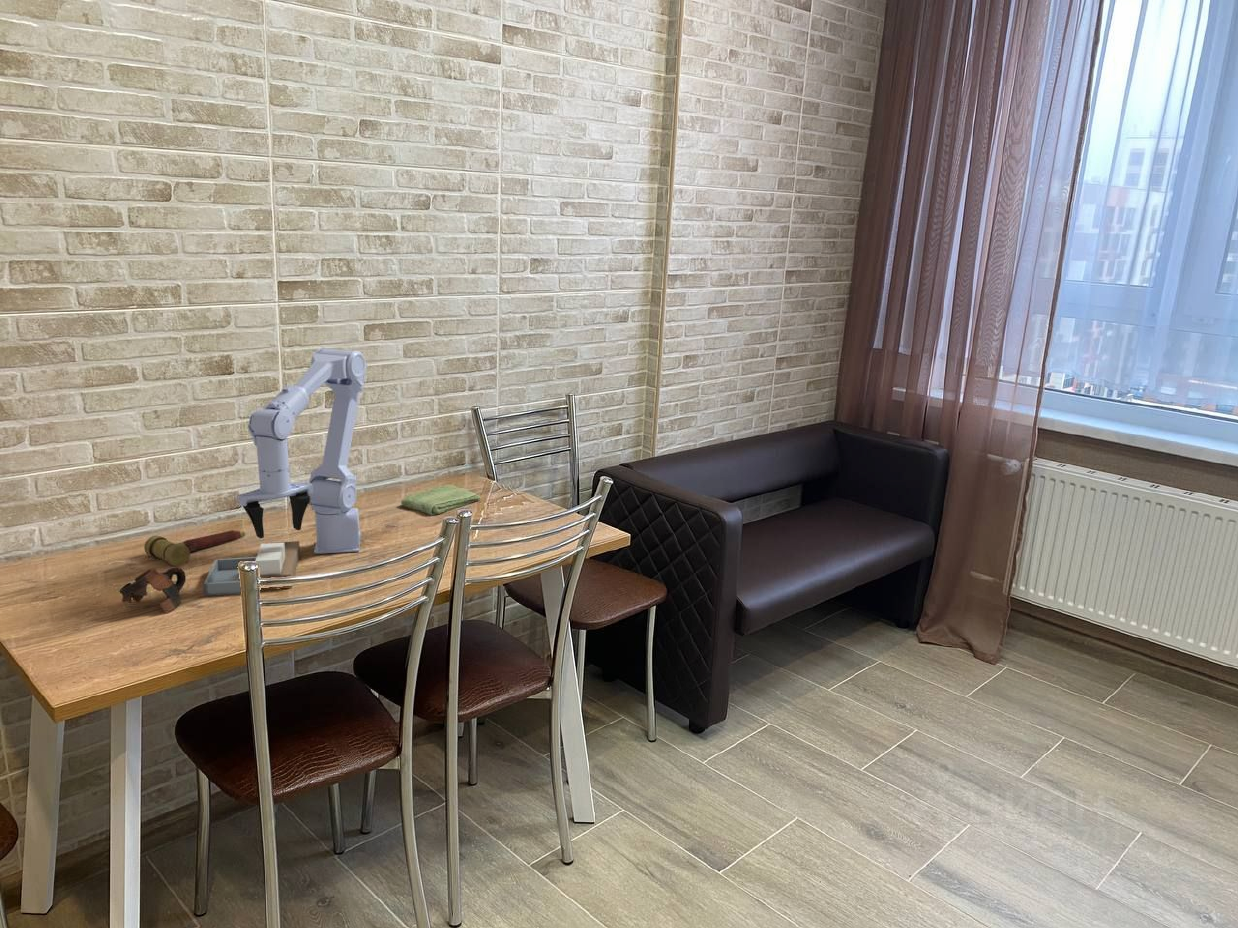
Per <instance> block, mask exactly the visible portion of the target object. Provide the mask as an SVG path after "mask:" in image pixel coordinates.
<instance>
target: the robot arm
mask: <svg viewBox="0 0 1238 928" xmlns="http://www.w3.org/2000/svg"><path fill="white" fill-rule="evenodd" d="M367 367H368V364H367V362H366V360H365V357H364V354H363V353H362V352H361V351H359V350H345V349H333V348H330V349H329V348H326V347H321V348H318V349H317V350H316V351H315V353H314V354H313V355H311V359H310V366H309V367H308V369H307V370H306V371H305V372H304V373H303V375H302V376H301V377H300V379H299V380H298V381H297V383H295V385H293V384H291V385H290V384H289V385H284V386H283V387H282V389H281V391H280V392H279V393H278V394H277V395H276V396H275V397H274V398H273V399H272V400H271V401H270V402H269V403H268V404H267V405H266V406H265V407H263V408H262V407H261V408H257V409H256V410H255V411H253V412H252V413H251V415H250V417H249V419H248V420H249V421H248V424H247V429H248V432H249V434H250V435H251V436H252V438H253V439H252V441H253V444H254V446H256V453H257V454H256V455H257V465H258V466H257V467H258V476H259V477H258V478H259V488H258V489H254V490H251V491H248V492H244V493H241V494H237V495H236V496H237V504H238V505H239V506H241V507H242V508H243V509H244V511H245V512H246V514H247V515H248V517H249V518H250V519H249V520H250V522H251V523H252V526H253V528H254V532H255V535H256V537H257V538H259V539H264V538H265V529H264V520H263V519H264V508H263V507H262V506H261V503H262V502H266V501H272V500H278V499H282V498H288V497H289V501H290V507H291V516H292V517H291V518H292V525H293V529H294V530H296V531H301V530H302V524H303V520H304V515H305V512H306V510H307V507H308V506H311V507H310V508H311V511H314V518H315V519H314V520H315V533H316V541H315V546H314V549H313V550H314V551H313V553H314V555H317V554H318V555H319V554H336V553H351V552H352V553H353V552H359V551H360V547H361V546H360V543H361V540H362V533H361V532H360V519H359V517H360V516H359V508H358V507H353V506H354V505H355V503H356V500H357V494H358V493H357V477H356V476H355V475H354V473H353V472H351V470H350V469H349V468H348V464H349V459H350V454H351V445H352V443H353V442H352V440H353V435H354V429H355V423H356V418H357V412H358V407H359V406H358V405H359V401H360V394H361V391H363V389H364V386H365V385H364V384H365V379H366V374H367ZM323 385H326V387H327V388H329V389H331V391H332V393H333V395H334V396H333V402H332V409H331V414H330V419H329V426H328V430H327V436H326V442H325V447H324V454H323V458H322V463H321V464H320V465H319V466H317V467H316V468H314V469H313V470H312V471H311V472H310V477H309V479H308V481H307V482H299V483H291V473H290V464H289V463H290V462H289V461H290V460H289V448H288V437H290V435H291V434H292V431H293V428H294V425H295V424H296V419H298V417H299V416H300V415H301V414H302V413H303V412H304V411H305V410H306V409H307V407H308V406H309V404H310V398H309V397H310V396H311V395H313V394H314V393H315V392H316V391H317V390H318V389H319V388H320V387H322V386H323ZM335 479H336V480H335Z"/></svg>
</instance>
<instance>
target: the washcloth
mask: <svg viewBox="0 0 1238 928" xmlns="http://www.w3.org/2000/svg"><path fill="white" fill-rule="evenodd" d="M481 499H482V497H481V495H478V494H477V493H476V492H472V491H469V490H468V489H466V488H463V487H456V486H455V485H454V484H445V485H438V486H436V487H435V486H434V487H432V488H430V489H426V490H424V491H420V492H415V493H412V494H409V495H406V496H404V497H403V498H402V499H401V501H400V502H401V505H402V507H404V508H407V509H412V510H414V511H419V512H421V513H424V514H426V515H429V516H437V515H440V514H445V513H447V512H449V511H453V510H456V509H458V508H460V507H461V508H462V507H464V506H465V505H469V504H471V503H475V502H478V501H479V500H481Z"/></svg>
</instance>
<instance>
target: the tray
mask: <svg viewBox="0 0 1238 928" xmlns="http://www.w3.org/2000/svg"><path fill="white" fill-rule="evenodd" d="M256 557H257V556H251V557H250V556H249V557H234V558H233V557H232V558H231V557H230V558H216V559H214V561H213V562H212V565H211V567H210V569H209V572H208V574H207V576H206V579H205V580H204V582H203V591H204V593H203V595H204V597H210V596H227V595H240V594H241V587H240V579H239V573H238V568H237V567H238V563H239V562H240V561H255V560H256Z"/></svg>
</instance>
